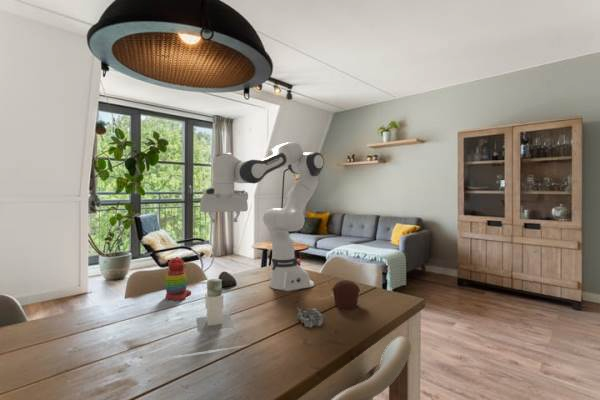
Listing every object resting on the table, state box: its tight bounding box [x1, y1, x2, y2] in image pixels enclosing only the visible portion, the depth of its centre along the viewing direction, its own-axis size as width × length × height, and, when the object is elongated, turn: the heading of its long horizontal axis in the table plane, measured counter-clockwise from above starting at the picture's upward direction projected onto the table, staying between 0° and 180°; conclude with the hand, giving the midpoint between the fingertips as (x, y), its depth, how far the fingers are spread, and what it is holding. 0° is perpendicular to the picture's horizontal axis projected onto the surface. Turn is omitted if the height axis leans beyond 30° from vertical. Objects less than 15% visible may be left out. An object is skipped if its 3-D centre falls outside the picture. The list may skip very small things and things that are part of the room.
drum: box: [206, 278, 223, 297], centre depth 113 cm, size 5×5×5 cm
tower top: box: [204, 293, 224, 312], centre depth 113 cm, size 5×5×5 cm
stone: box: [217, 271, 238, 288], centre depth 159 cm, size 10×8×10 cm
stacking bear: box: [164, 256, 192, 302], centre depth 142 cm, size 11×10×18 cm
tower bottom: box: [206, 309, 223, 326], centre depth 113 cm, size 5×5×5 cm
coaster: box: [196, 313, 234, 333], centre depth 113 cm, size 12×12×1 cm
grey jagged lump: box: [296, 307, 324, 328], centre depth 115 cm, size 11×8×4 cm
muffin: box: [331, 279, 361, 310], centre depth 131 cm, size 12×11×10 cm
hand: (224, 222), depth 137 cm, fingers open, 8 cm apart
